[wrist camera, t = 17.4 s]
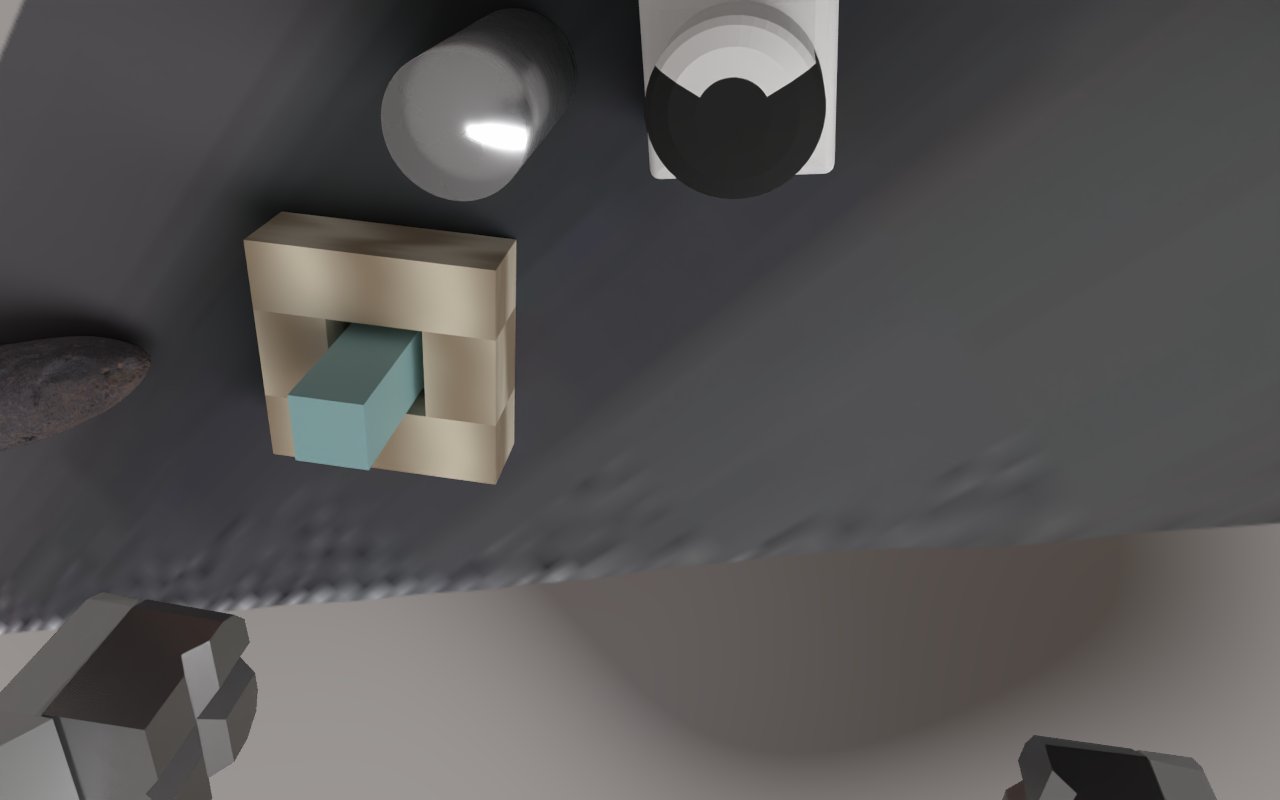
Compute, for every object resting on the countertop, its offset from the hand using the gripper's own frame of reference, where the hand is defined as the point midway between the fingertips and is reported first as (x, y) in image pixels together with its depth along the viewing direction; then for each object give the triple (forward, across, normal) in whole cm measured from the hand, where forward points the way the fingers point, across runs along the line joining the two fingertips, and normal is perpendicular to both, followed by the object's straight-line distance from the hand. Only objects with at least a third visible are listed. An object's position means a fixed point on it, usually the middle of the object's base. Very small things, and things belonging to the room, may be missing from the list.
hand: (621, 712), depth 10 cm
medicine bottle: (+37, 0, 0) cm, 37 cm away
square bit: (+37, +16, +16) cm, 44 cm away
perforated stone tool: (+38, +36, +21) cm, 56 cm away
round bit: (+37, +10, +2) cm, 38 cm away
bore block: (+37, +16, +16) cm, 43 cm away
